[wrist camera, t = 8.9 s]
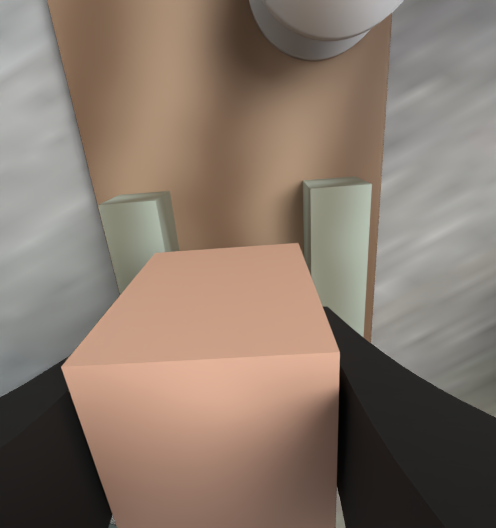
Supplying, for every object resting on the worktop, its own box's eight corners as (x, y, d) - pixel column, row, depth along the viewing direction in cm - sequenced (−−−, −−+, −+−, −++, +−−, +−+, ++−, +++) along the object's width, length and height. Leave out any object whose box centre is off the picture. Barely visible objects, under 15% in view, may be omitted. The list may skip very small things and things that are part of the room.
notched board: (393, -150, 13) (473, -314, 8) (364, 342, 21) (396, 404, 16) (33, -105, 13) (-87, -232, 9) (142, 354, 21) (110, 416, 17)
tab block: (298, 242, 10) (340, 352, 5) (301, 362, 12) (335, 533, 7) (155, 252, 11) (61, 366, 5) (177, 368, 12) (121, 539, 7)
